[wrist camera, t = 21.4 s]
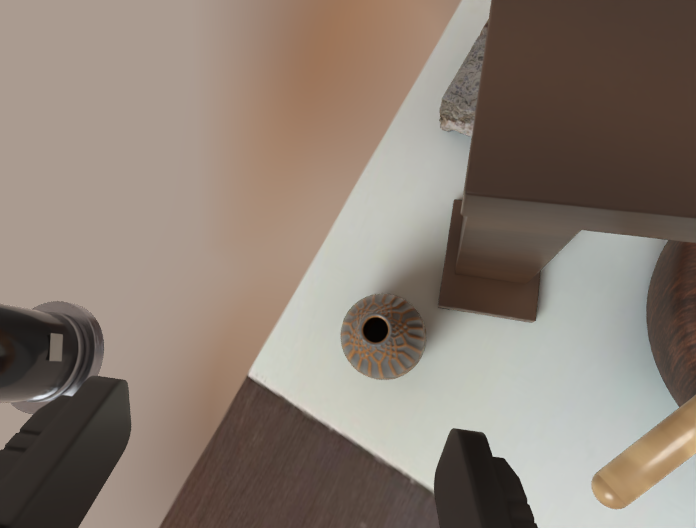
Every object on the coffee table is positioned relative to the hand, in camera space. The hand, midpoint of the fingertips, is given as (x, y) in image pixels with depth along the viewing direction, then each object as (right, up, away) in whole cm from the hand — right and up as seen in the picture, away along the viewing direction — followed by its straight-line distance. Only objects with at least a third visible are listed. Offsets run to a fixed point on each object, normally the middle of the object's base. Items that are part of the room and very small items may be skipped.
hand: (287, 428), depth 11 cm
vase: (+5, -3, +28) cm, 29 cm away
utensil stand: (+14, +3, +28) cm, 32 cm away
